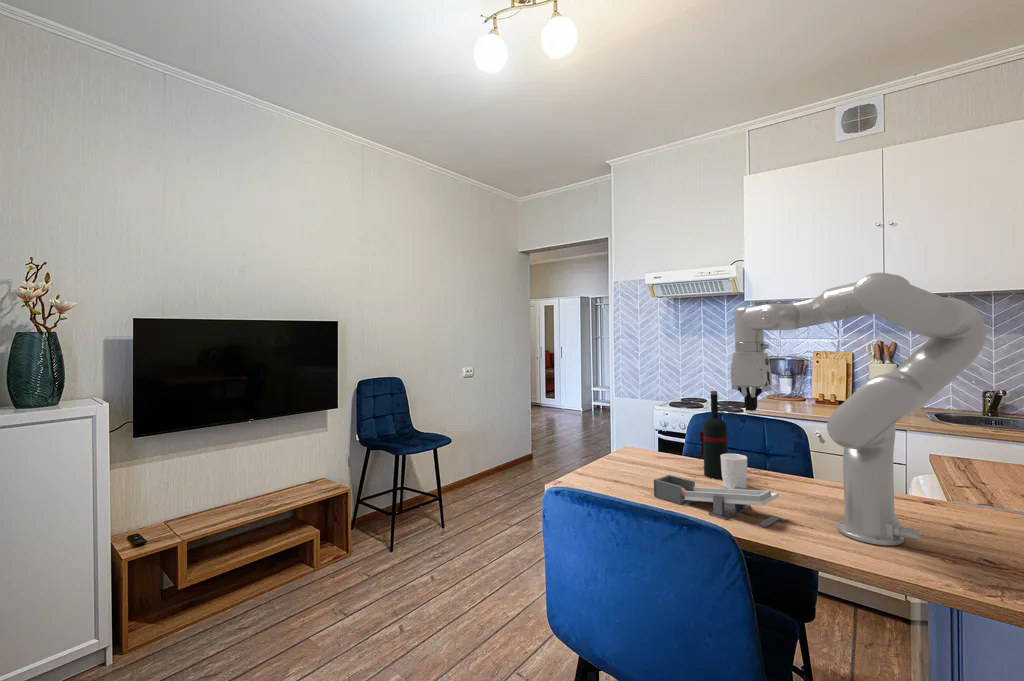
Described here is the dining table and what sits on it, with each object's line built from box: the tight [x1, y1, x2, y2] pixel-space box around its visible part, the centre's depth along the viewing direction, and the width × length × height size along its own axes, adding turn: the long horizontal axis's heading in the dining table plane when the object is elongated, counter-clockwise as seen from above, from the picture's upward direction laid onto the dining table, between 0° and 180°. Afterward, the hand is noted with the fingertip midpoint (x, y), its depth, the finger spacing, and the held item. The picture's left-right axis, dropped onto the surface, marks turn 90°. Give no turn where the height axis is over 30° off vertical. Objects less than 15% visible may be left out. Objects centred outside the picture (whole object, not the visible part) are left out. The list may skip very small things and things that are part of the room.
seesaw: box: [683, 486, 780, 507], centre depth 125 cm, size 22×10×2 cm, turn 37°
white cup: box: [720, 453, 748, 490], centre depth 145 cm, size 8×8×10 cm
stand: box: [683, 486, 782, 529], centre depth 125 cm, size 23×14×5 cm, turn 37°
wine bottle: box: [698, 390, 729, 480], centre depth 158 cm, size 8×10×30 cm
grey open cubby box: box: [653, 474, 696, 506], centre depth 136 cm, size 9×8×5 cm
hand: (751, 410), depth 132 cm, fingers closed
